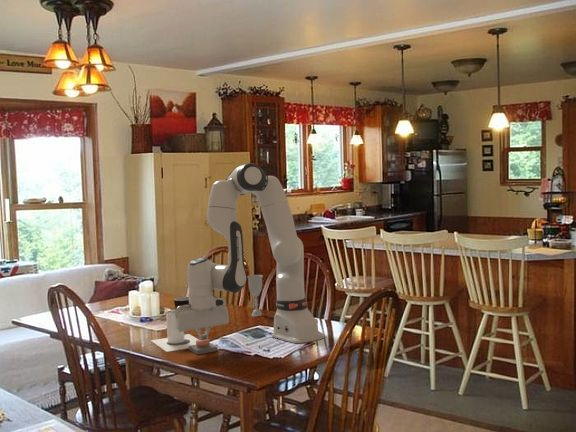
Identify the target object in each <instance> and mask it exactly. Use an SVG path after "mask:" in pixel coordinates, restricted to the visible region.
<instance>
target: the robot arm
mask: <svg viewBox="0 0 576 432" xmlns="http://www.w3.org/2000/svg"><path fill="white" fill-rule="evenodd" d="M250 193H252V194H253V195H255V197H256V198H257V200H258V204H259V206H260V211H261V213H262V217H263V219H264V223H265V226H266V231H267V234H268V239H269V243H270V245H269V246H270V247H271V252H272V255H273V256H272V257H273V258H274V260H275V261H276V275H275V276H276V277H275V281H276V283H275V284H276V299H275V307H276V312H275V314H274V316H273V333H271V334H270V337H271V336H272V337H271V338H273V337H275V338H274V339H277V338H278V340H281V341H286V342H288V343H291V344H292V343H293V344H303V343H304V344H305V343H310V342H315V341H320V340H322V339H324V338H326V336H325V334H324V333H322V332H321V331H319V326H318V324H319V321H318V320H319V319H318V318H316V317H314V316H313V314H312V313H311V311H310V310H309V306H308V305H309V302H308V301H307V298H306V297H305V296H306V295H305V278H304V277H305V276H304V275H305V259H304V258H305V256H304V255H305V253H304V251H305V247H304V244H303V241H302V239H300V237H298V234H297V229H296V226H295V221H294V217H293V214H292V210H291V208H290V205H289V200H288V198H287V197H288V196H287V194H286V192H285V190H284V187H283V185H282V184H281V182H280V180H279V179H278V177H276V176H275V175H268V174H267V173H266V172H265V171H264V170H263V168H262V167H260V166H259V164H256V163H253V162H247V163H244V164H241V165H239V166H237V167H236V168H235V169H233V170H232V171H231V172H230V173H229V174H228V176H227V177H226V179H220V180H216V181H215V182H213V184H212V185H211V188H210V191H209V197H208V202H207V211H206V221H207V224H208V225H209V227H211V229H212V230H214V231H215V232H217V233H218V234H220V235H222V236H223V237H224V238H225V240H226V241H227V248H228V249H227V250H228V253H227V254H228V264H219V263H216V262H212V261H211V260H209V258H208V257H197V258H194V259H192V260H191V261H189V263H188V264H187V279H186V280H187V286H188V297H189V304H188V305H184V306H178V308H176V309H174V310H175V317H176V319H175V328H176V330H177V331H179V332H184V333H185V332H188V331H194V330H195V332H196V334H197V335H198V339H199V340H206V339H209V333H210V332H211V328H212V327H217V326H223V325H228V324H229V321H230V315H229V314H230V313H229V310H228V307H227V306H226V304H227V301H226V299H224V298H221V297H218V296H214V293H213V291H221V292H222V291H224V292H225V291H226V292H229V293H233V294H235V293H236V294H237V293H239V292H240V291H242V290H243V288H244V287H245V285H246V284H247V280H248V277H247V276H248V275H247V271H246V267H245V266H246V265H245V252H244V250H245V249H244V237H243V229H242V228H243V227H242V226H241V223H239V221H238V217H237V216H238V215H237V211H238V209H237V208H238V205H237V204H238V199H239V198H240V196H244V195H247V194H250ZM202 329H205V331H204V333H201V332H202Z"/></svg>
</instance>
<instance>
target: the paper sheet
mask: <svg viewBox="0 0 576 432" xmlns="http://www.w3.org/2000/svg"><path fill="white" fill-rule="evenodd" d="M184 339H185V340H184V342H183V343H179V344H170V343H168V337H165V338H164V337H163V338H158V339H151V340H150V342H151V343H152V344H154V345H156V346H157V347H158V348H160V349H161V350H162V351H164V352H165V353H171V352H176V351H183V350H187V349H188V350H189V346H191V345H196V341H197V340H199V338H198V337H195V336H193V335H192V334H190V333H187V334H184Z"/></svg>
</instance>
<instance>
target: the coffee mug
mask: <svg viewBox="0 0 576 432" xmlns="http://www.w3.org/2000/svg"><path fill="white" fill-rule="evenodd" d="M173 303H174V308H175V309H176V308H178V306H184V305H188V304H189V296H181V297H179V296H178V297H176V298H174V299H173ZM175 309H174V310H175Z"/></svg>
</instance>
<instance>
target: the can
mask: <svg viewBox="0 0 576 432" xmlns="http://www.w3.org/2000/svg"><path fill="white" fill-rule="evenodd" d="M165 318H166V319H165V320H166V333H167V336H166V338H168V343H170V344H179V343H183V342H184V340H185V339H184V335H185V331H184V332H179V331H177V330H176V328H175V319H176V317H175V309H172V310H169V311H167V313H166V317H165Z"/></svg>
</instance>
